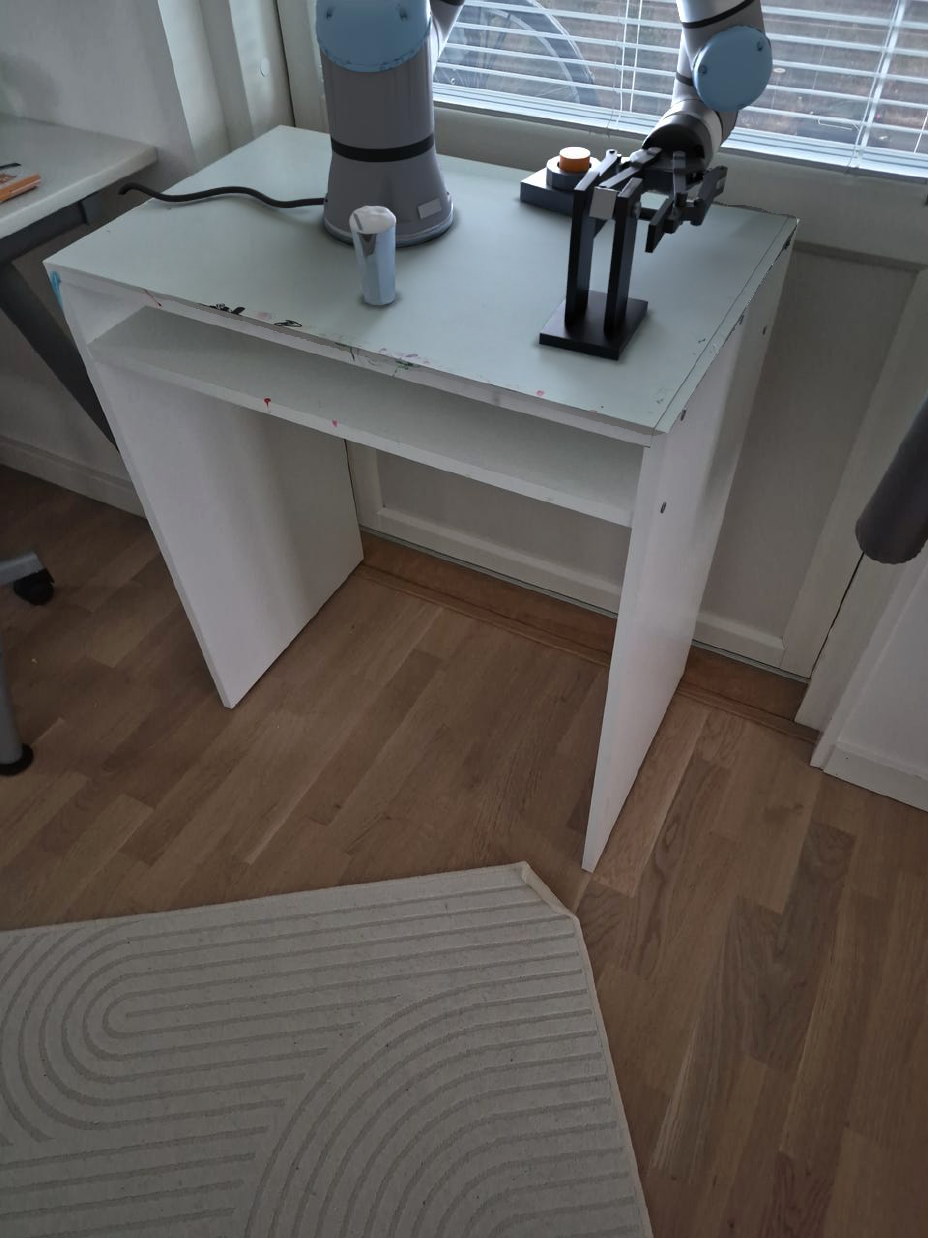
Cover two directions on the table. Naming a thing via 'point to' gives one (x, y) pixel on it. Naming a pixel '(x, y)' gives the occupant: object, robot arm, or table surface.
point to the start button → (574, 159)
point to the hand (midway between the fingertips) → (619, 233)
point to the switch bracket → (585, 313)
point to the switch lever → (612, 206)
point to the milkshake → (375, 252)
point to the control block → (553, 186)
